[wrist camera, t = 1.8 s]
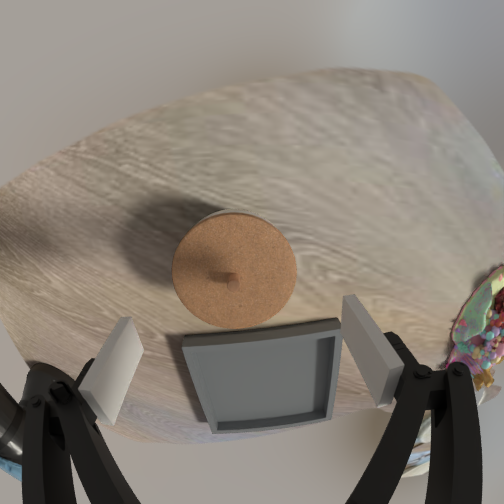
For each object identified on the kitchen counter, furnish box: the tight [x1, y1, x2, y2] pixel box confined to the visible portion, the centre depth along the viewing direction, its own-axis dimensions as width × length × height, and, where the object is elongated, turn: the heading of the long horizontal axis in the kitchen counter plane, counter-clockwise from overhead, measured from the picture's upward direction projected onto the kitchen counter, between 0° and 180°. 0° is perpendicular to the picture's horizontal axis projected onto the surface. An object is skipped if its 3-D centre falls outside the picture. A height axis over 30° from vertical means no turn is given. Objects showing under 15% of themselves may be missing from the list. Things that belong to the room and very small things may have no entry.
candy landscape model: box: [446, 266, 504, 391], centre depth 34 cm, size 25×24×9 cm
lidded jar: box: [172, 209, 297, 329], centre depth 26 cm, size 11×11×9 cm
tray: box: [182, 318, 343, 434], centre depth 36 cm, size 20×20×2 cm
